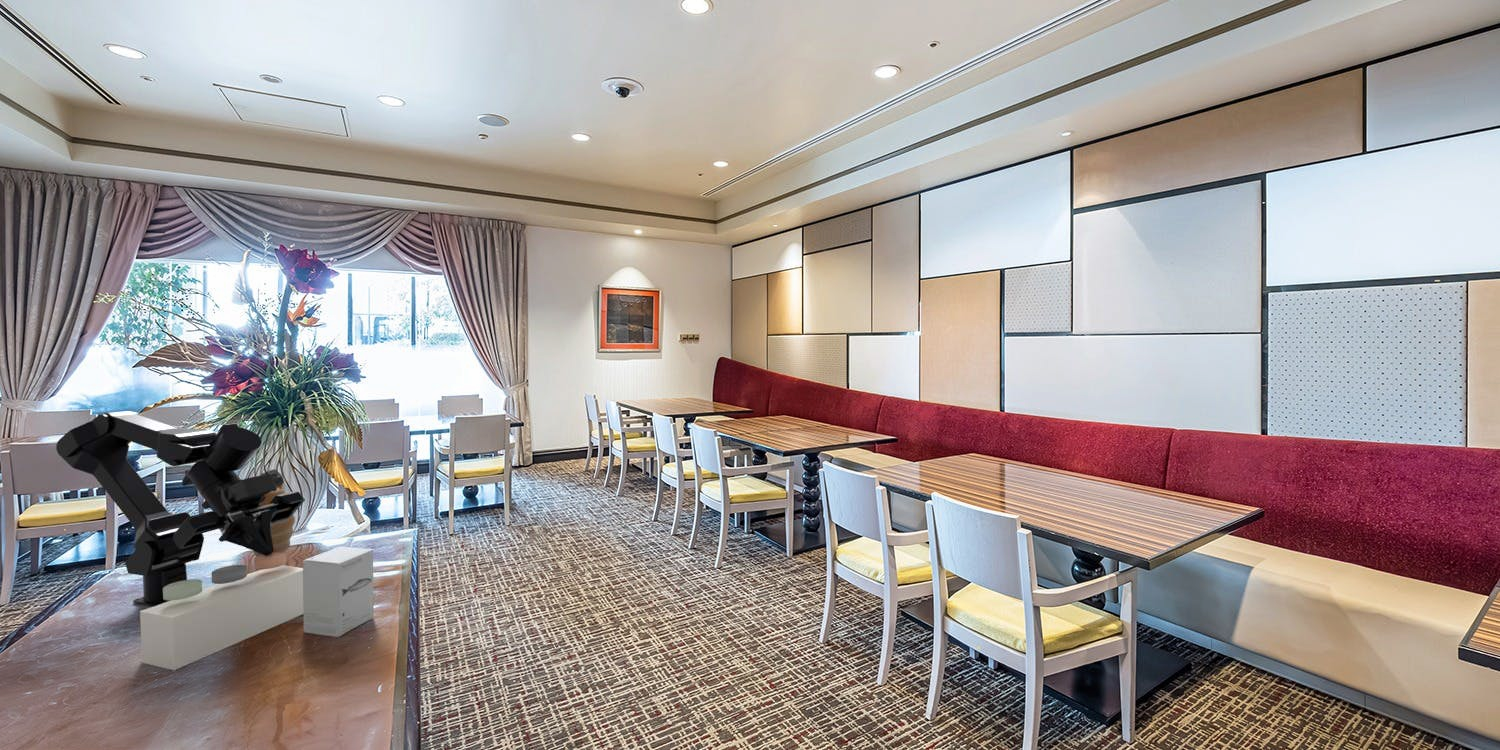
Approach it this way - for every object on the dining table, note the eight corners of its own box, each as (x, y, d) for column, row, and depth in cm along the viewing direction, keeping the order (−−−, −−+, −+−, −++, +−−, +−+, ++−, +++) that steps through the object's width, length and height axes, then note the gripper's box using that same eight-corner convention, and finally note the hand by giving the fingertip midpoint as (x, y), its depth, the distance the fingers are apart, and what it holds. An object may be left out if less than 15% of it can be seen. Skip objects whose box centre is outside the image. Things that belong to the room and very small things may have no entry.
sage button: (155, 598, 91) (155, 588, 91) (189, 586, 95) (189, 577, 95) (175, 602, 90) (175, 592, 89) (209, 590, 94) (208, 581, 94)
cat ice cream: (277, 559, 132) (275, 479, 131) (306, 562, 130) (304, 481, 129) (235, 574, 123) (233, 489, 122) (266, 577, 122) (264, 491, 121)
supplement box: (339, 638, 98) (337, 563, 97) (302, 633, 99) (300, 559, 99) (375, 618, 105) (374, 548, 105) (340, 613, 107) (339, 545, 106)
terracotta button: (247, 567, 103) (247, 559, 103) (274, 558, 107) (274, 550, 107) (266, 570, 102) (266, 562, 102) (292, 561, 106) (292, 553, 106)
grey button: (204, 581, 97) (204, 572, 97) (234, 572, 101) (234, 563, 101) (224, 585, 96) (223, 576, 96) (253, 575, 100) (253, 566, 100)
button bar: (141, 662, 90) (140, 611, 89) (278, 606, 109) (277, 564, 108) (174, 670, 88) (172, 617, 87) (307, 612, 107) (306, 568, 107)
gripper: (183, 469, 96) (237, 542, 94) (296, 449, 114) (343, 510, 112) (149, 512, 98) (201, 585, 96) (265, 486, 116) (311, 547, 114)
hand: (270, 553), depth 105 cm, fingers closed
